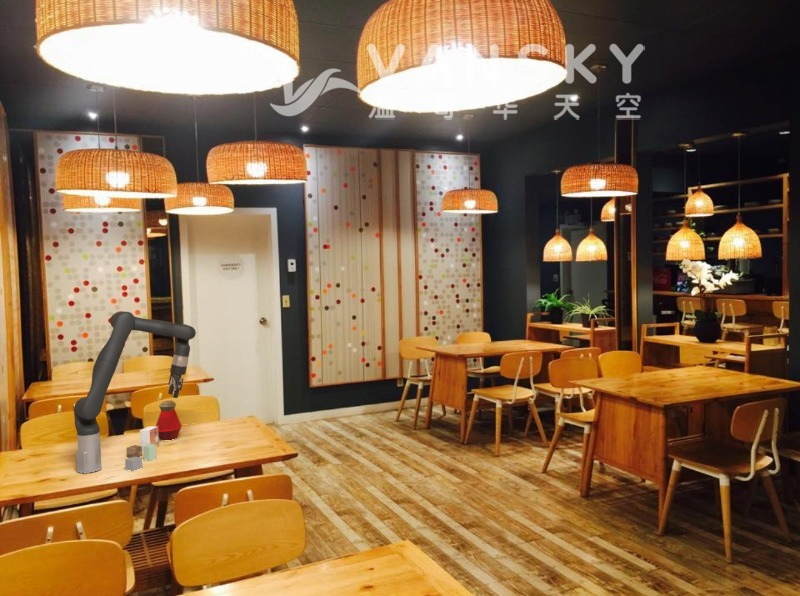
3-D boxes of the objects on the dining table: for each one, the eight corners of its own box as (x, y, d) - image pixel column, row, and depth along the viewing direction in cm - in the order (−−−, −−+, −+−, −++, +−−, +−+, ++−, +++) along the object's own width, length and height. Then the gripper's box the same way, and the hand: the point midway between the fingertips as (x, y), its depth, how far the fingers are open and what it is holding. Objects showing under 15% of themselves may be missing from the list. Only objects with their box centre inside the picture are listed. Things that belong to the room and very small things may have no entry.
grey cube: (133, 471, 286) (132, 461, 286) (125, 470, 288) (125, 459, 288) (142, 468, 290) (141, 457, 290) (135, 467, 293) (134, 456, 293)
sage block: (149, 461, 300) (148, 447, 300) (143, 460, 302) (143, 446, 302) (156, 459, 304) (155, 444, 304) (150, 458, 306) (150, 443, 305)
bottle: (162, 434, 348) (160, 398, 347) (186, 434, 348) (185, 398, 346) (149, 442, 332) (148, 405, 331) (175, 442, 332) (173, 404, 331)
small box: (150, 451, 318) (149, 430, 317) (140, 450, 319) (139, 430, 318) (159, 446, 326) (158, 426, 325) (149, 446, 327) (148, 425, 326)
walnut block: (133, 459, 305) (133, 448, 305) (126, 457, 308) (126, 447, 307) (142, 456, 309) (142, 446, 309) (135, 454, 312) (135, 444, 312)
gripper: (168, 360, 322) (161, 392, 321) (176, 366, 310) (169, 398, 310) (182, 362, 326) (176, 393, 326) (191, 367, 314) (184, 399, 314)
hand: (172, 396), depth 318 cm, fingers open, 8 cm apart
